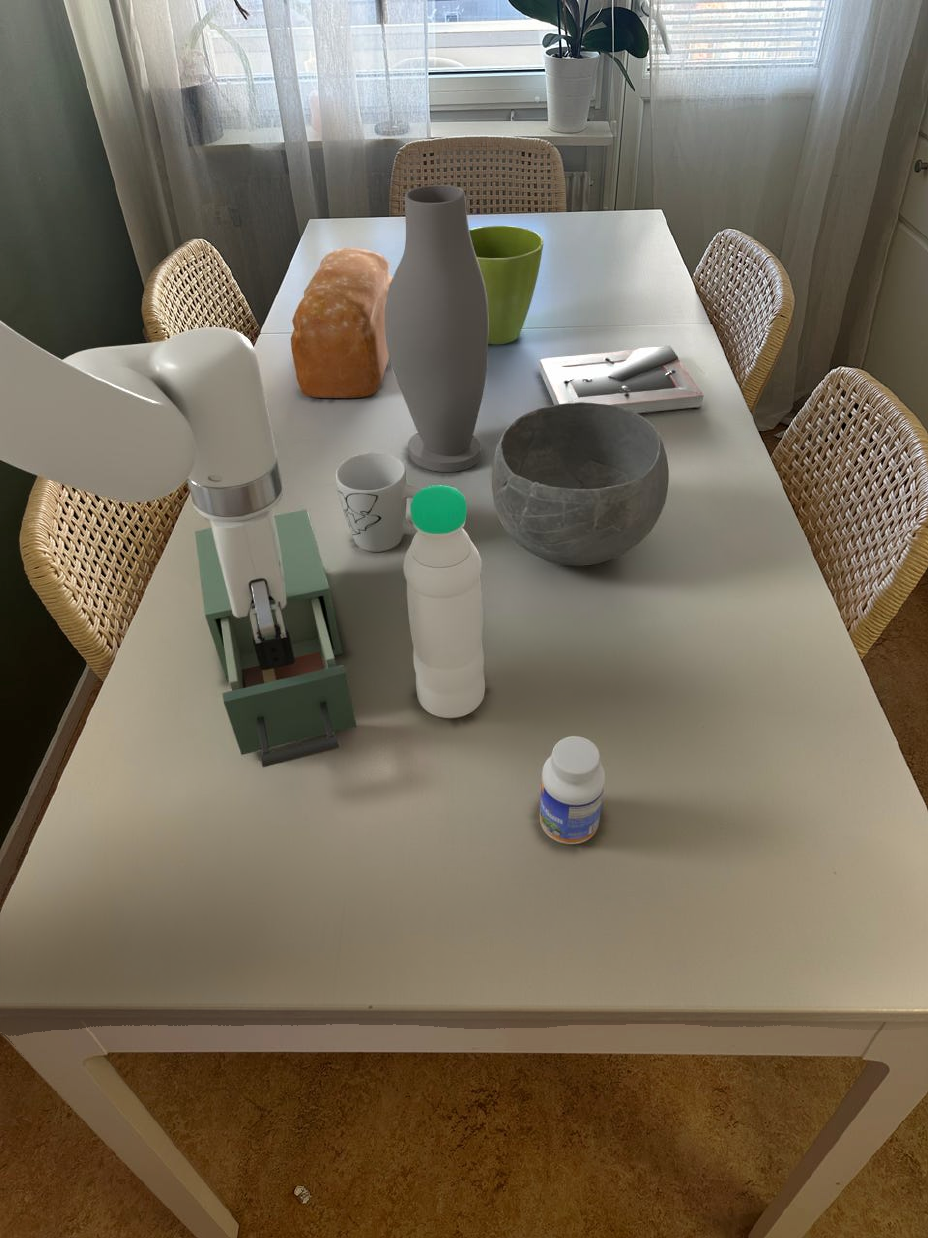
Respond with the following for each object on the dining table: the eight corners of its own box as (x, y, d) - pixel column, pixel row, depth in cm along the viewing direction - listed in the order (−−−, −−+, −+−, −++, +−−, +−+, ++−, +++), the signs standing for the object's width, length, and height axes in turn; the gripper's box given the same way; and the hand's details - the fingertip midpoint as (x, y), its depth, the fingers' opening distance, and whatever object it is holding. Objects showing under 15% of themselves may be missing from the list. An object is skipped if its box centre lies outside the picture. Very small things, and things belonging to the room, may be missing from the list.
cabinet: (342, 654, 95) (329, 588, 89) (226, 680, 93) (205, 615, 86) (319, 573, 105) (307, 508, 99) (215, 595, 103) (195, 531, 97)
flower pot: (502, 309, 159) (501, 218, 148) (559, 335, 150) (562, 240, 139) (438, 334, 152) (432, 241, 141) (494, 363, 144) (492, 266, 133)
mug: (442, 525, 112) (438, 459, 105) (423, 566, 106) (417, 498, 99) (359, 513, 114) (350, 448, 107) (335, 553, 108) (324, 486, 101)
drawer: (368, 770, 82) (358, 716, 77) (247, 801, 80) (229, 748, 75) (332, 637, 96) (321, 583, 91) (228, 660, 94) (211, 607, 88)
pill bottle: (529, 806, 80) (531, 739, 73) (582, 788, 81) (589, 721, 74) (555, 855, 76) (559, 789, 69) (610, 835, 77) (619, 768, 71)
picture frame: (668, 359, 143) (539, 371, 141) (670, 345, 141) (539, 357, 139) (701, 409, 131) (560, 423, 129) (704, 394, 129) (561, 408, 127)
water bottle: (497, 686, 91) (495, 487, 74) (461, 731, 87) (450, 531, 69) (441, 662, 94) (426, 465, 77) (403, 704, 89) (379, 506, 72)
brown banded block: (329, 692, 88) (326, 675, 87) (251, 711, 87) (245, 693, 85) (323, 668, 91) (320, 650, 89) (247, 686, 89) (241, 668, 88)
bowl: (539, 480, 118) (542, 379, 108) (682, 522, 110) (700, 417, 100) (462, 564, 106) (457, 459, 96) (617, 619, 98) (630, 510, 87)
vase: (386, 470, 121) (356, 206, 98) (419, 424, 130) (399, 172, 106) (475, 485, 118) (467, 215, 94) (503, 436, 127) (502, 179, 103)
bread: (294, 399, 137) (276, 302, 126) (326, 327, 156) (312, 237, 145) (380, 400, 136) (369, 302, 125) (402, 327, 155) (394, 237, 144)
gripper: (184, 437, 78) (224, 583, 89) (195, 551, 65) (241, 703, 77) (268, 423, 79) (297, 569, 91) (294, 532, 67) (324, 685, 78)
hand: (271, 630), depth 84 cm, fingers open, 9 cm apart
